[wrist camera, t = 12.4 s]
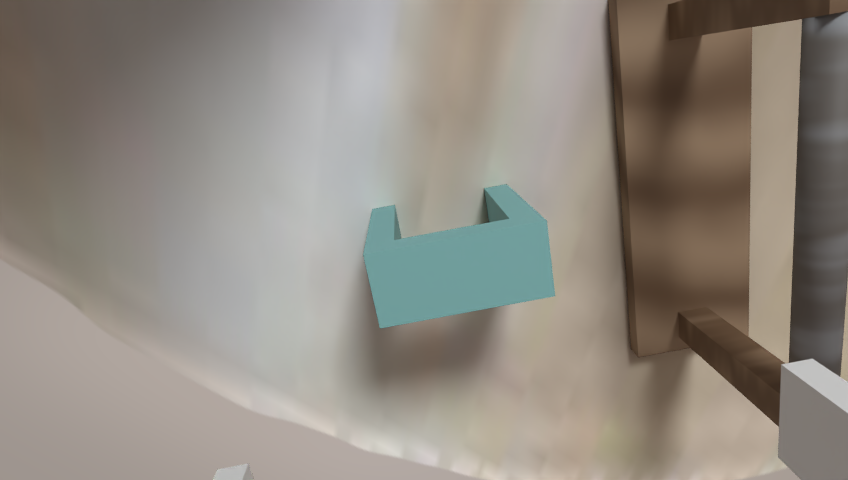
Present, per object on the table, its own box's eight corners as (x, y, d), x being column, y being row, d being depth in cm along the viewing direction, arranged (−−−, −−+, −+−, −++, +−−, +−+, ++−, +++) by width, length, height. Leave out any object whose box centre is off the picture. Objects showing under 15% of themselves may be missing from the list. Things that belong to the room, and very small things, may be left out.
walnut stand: (608, -2, 31) (751, -60, 18) (739, -26, 31) (972, -102, 18) (630, 348, 38) (745, 478, 25) (737, 329, 38) (905, 449, 25)
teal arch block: (372, 209, 34) (363, 254, 25) (506, 184, 34) (546, 220, 25) (384, 265, 35) (379, 328, 26) (514, 241, 35) (555, 296, 26)
